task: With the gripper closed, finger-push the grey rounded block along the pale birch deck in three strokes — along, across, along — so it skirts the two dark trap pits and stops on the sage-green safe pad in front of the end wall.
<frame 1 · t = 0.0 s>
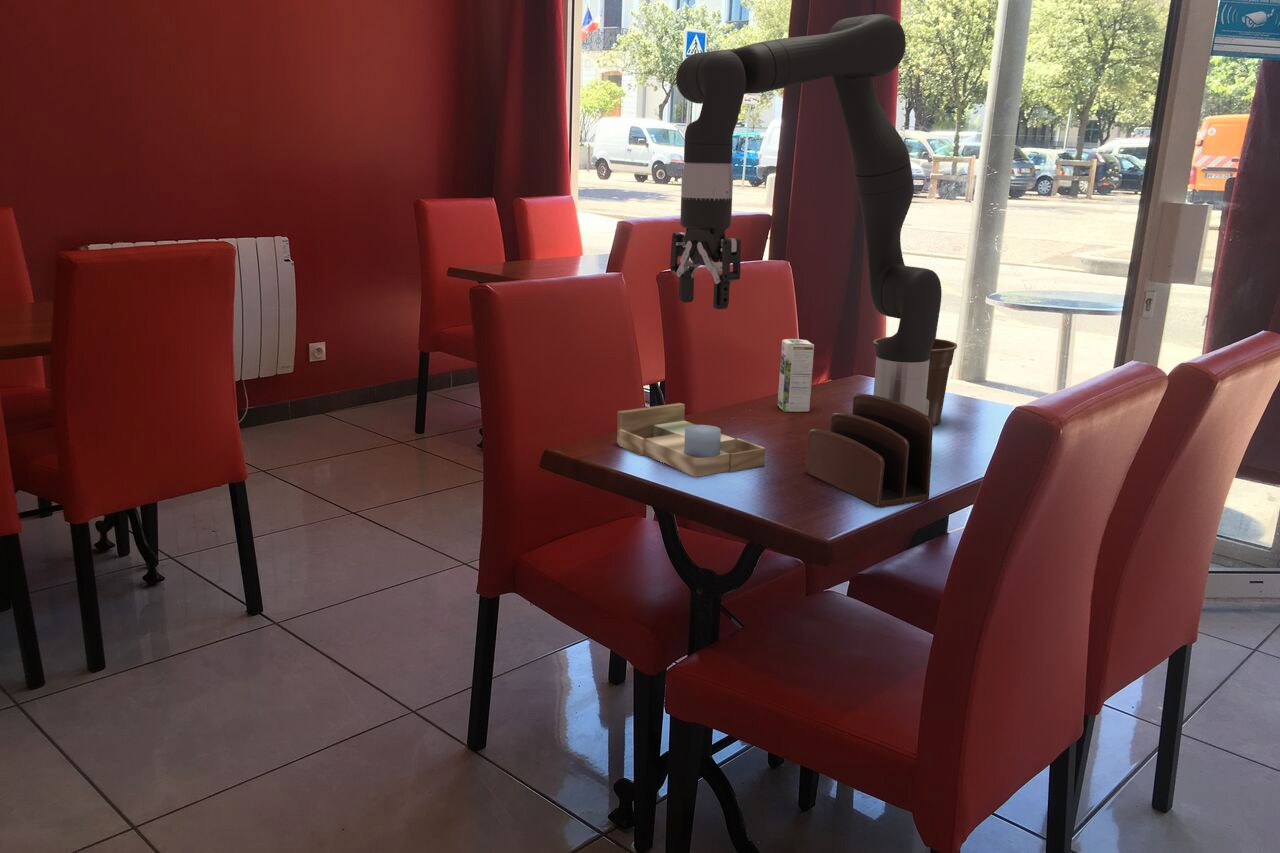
hand: (702, 305, 156), 29 cm above the table, tool pointing down, fingers open, 8 cm apart
grey rounded block: (702, 452, 174), point 3 cm above the table, touching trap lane
syrup box: (793, 410, 218), on the table
letter holder: (864, 488, 168), on the table
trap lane: (691, 455, 182), on the table
plant pot: (908, 421, 211), on the table
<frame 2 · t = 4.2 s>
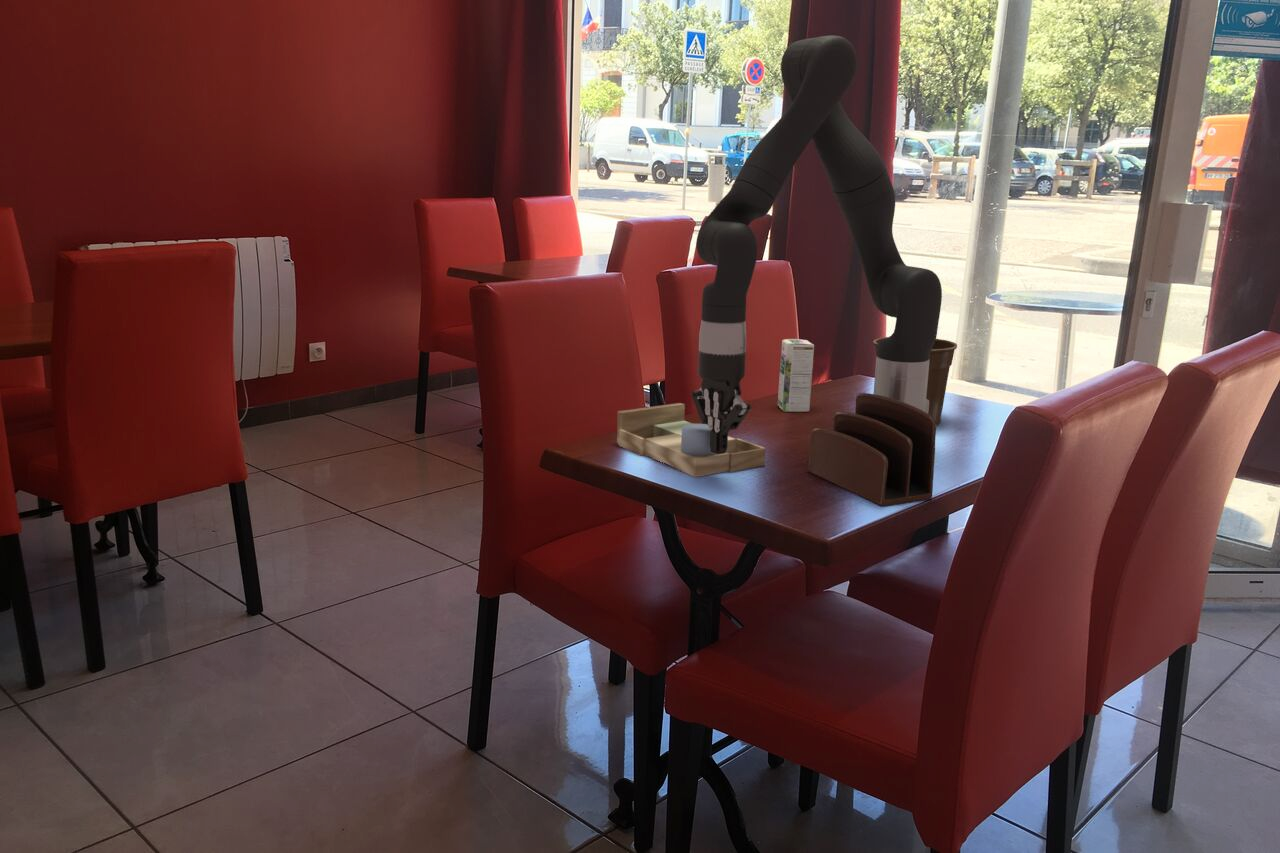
hand: (718, 452, 170), 4 cm above the table, tool pointing down, fingers closed
grey rounded block: (698, 451, 174), point 3 cm above the table
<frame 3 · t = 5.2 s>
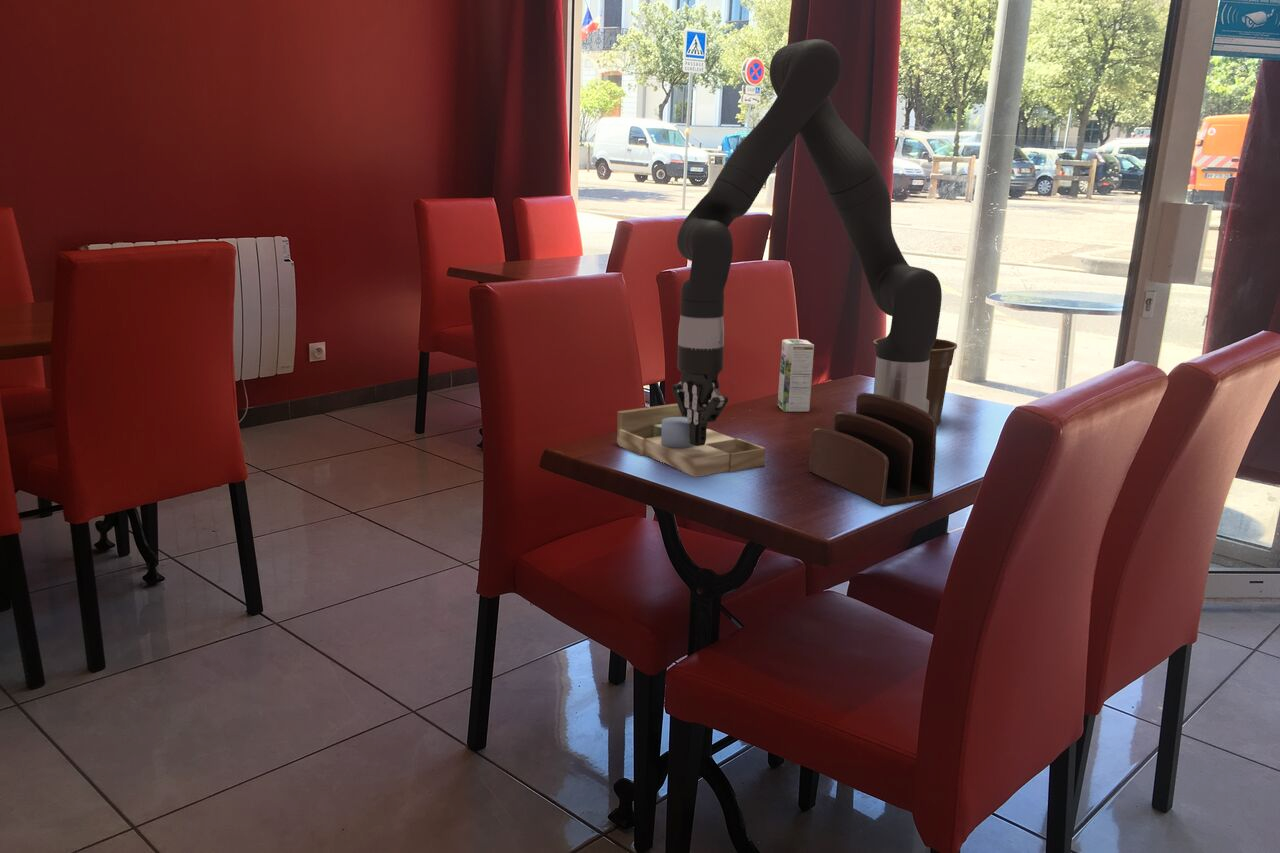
hand: (697, 444, 174), 4 cm above the table, tool pointing down, fingers closed
grey rounded block: (678, 443, 179), point 3 cm above the table, touching gripper
everything else where it was.
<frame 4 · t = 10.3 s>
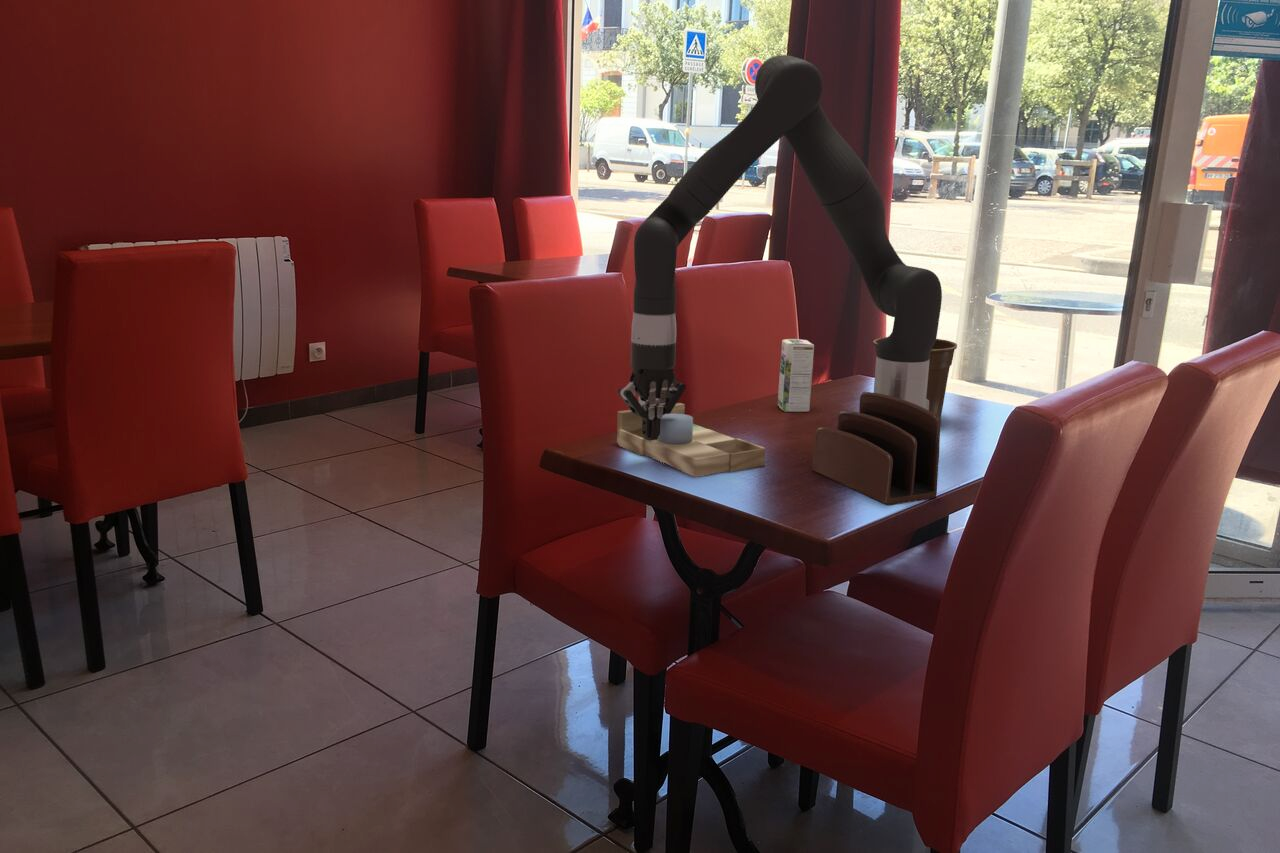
hand: (651, 439, 178), 4 cm above the table, tool pointing down, fingers closed
grey rounded block: (675, 439, 181), point 3 cm above the table, touching gripper
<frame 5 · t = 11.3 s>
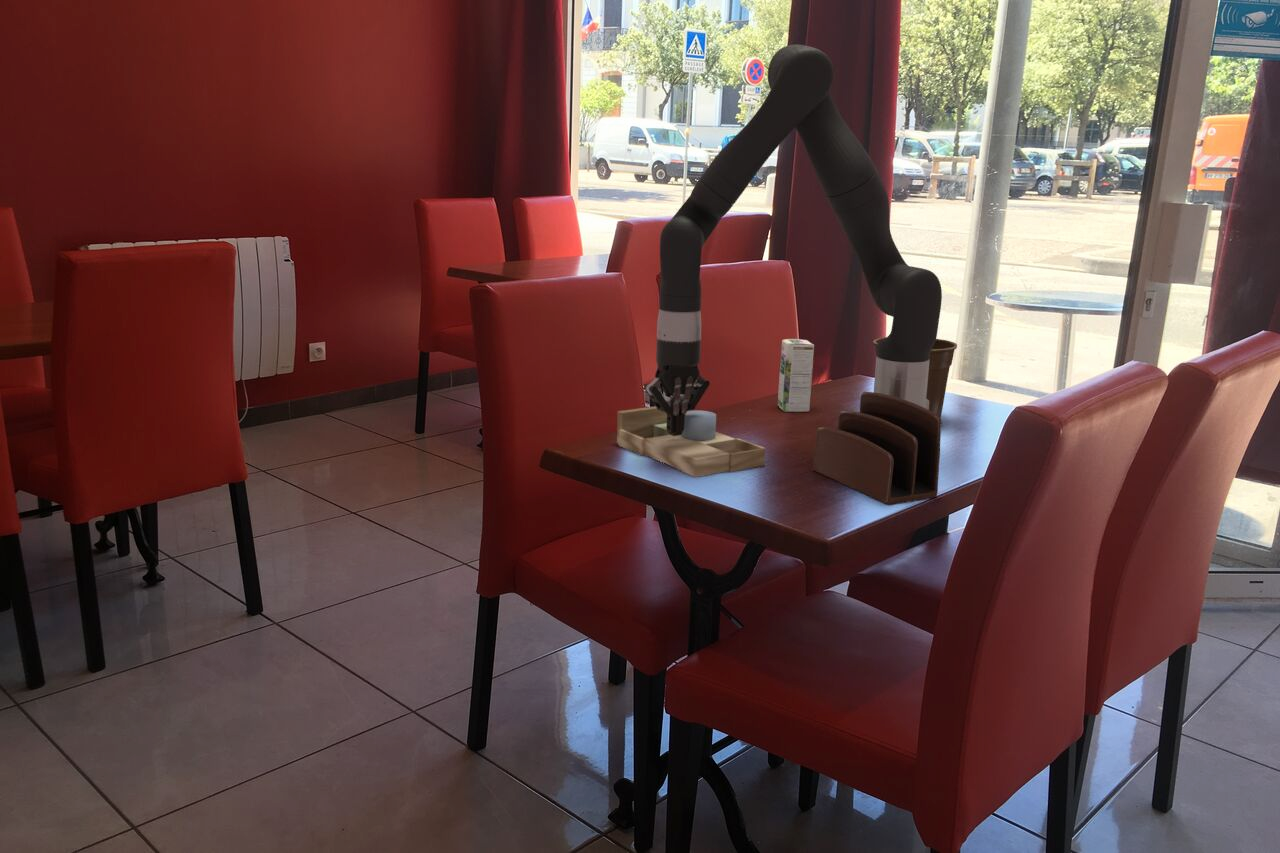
hand: (675, 434, 180), 4 cm above the table, tool pointing down, fingers closed
grey rounded block: (698, 436, 184), point 3 cm above the table, touching gripper, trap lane
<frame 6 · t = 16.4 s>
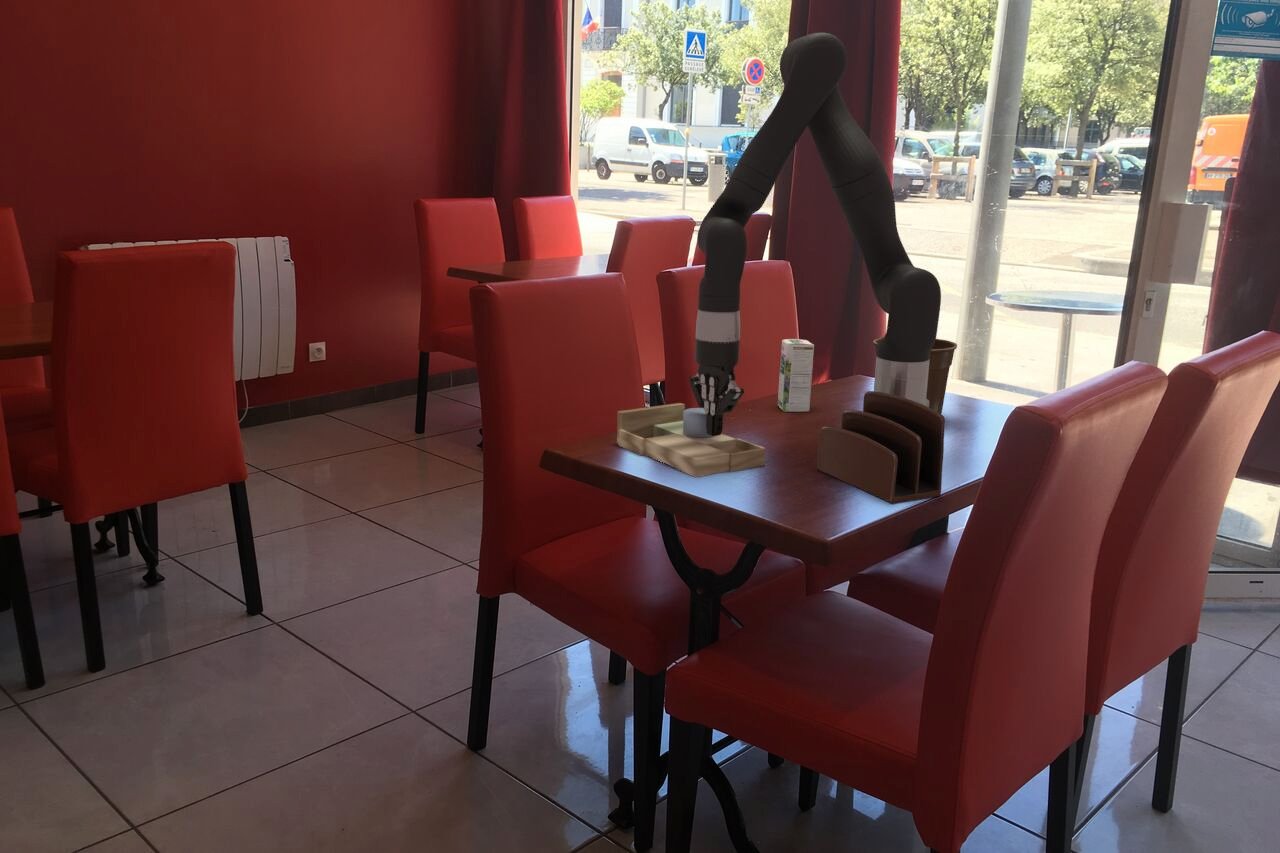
hand: (713, 434, 181), 4 cm above the table, tool pointing down, fingers closed
grey rounded block: (699, 433, 186), point 3 cm above the table, touching gripper
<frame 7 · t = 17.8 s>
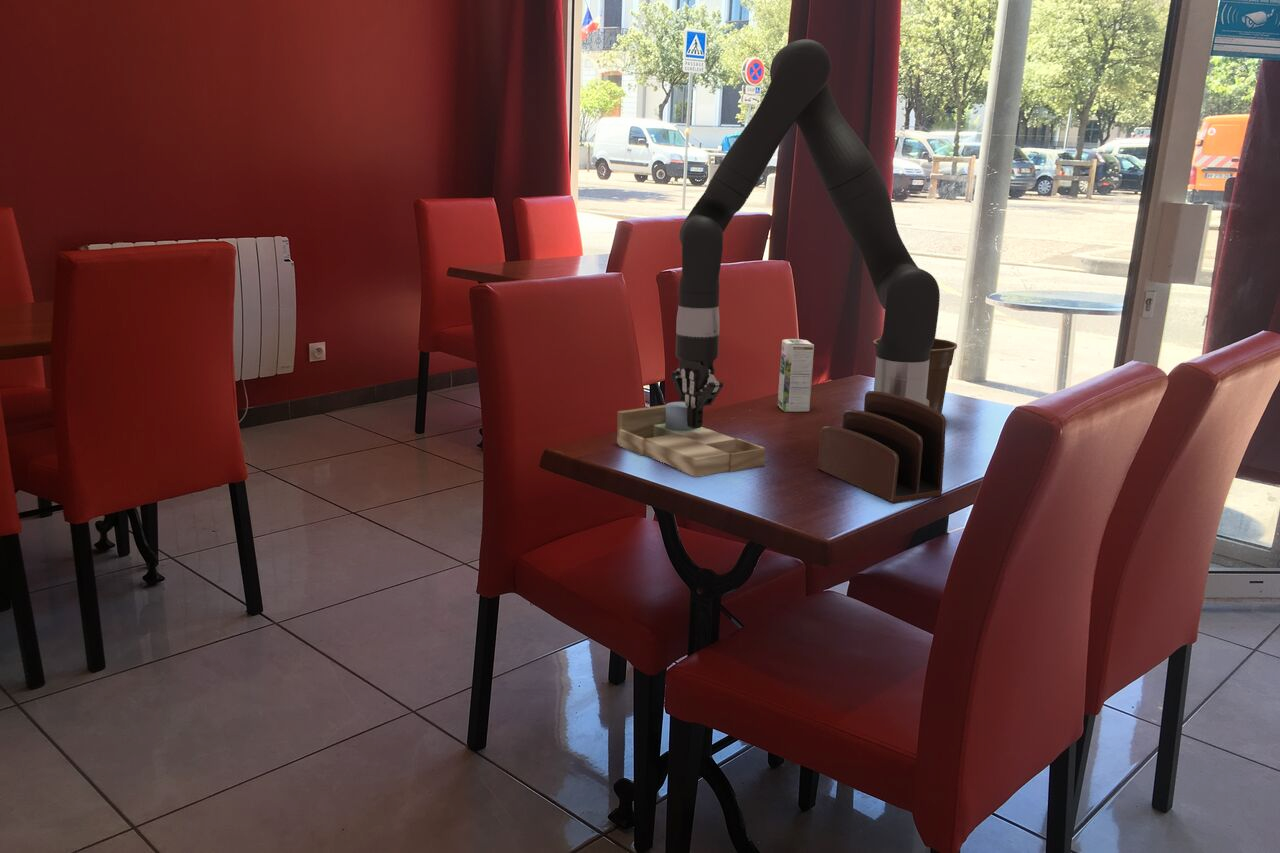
hand: (694, 427, 186), 4 cm above the table, tool pointing down, fingers closed
grey rounded block: (681, 426, 191), point 3 cm above the table, touching gripper, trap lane
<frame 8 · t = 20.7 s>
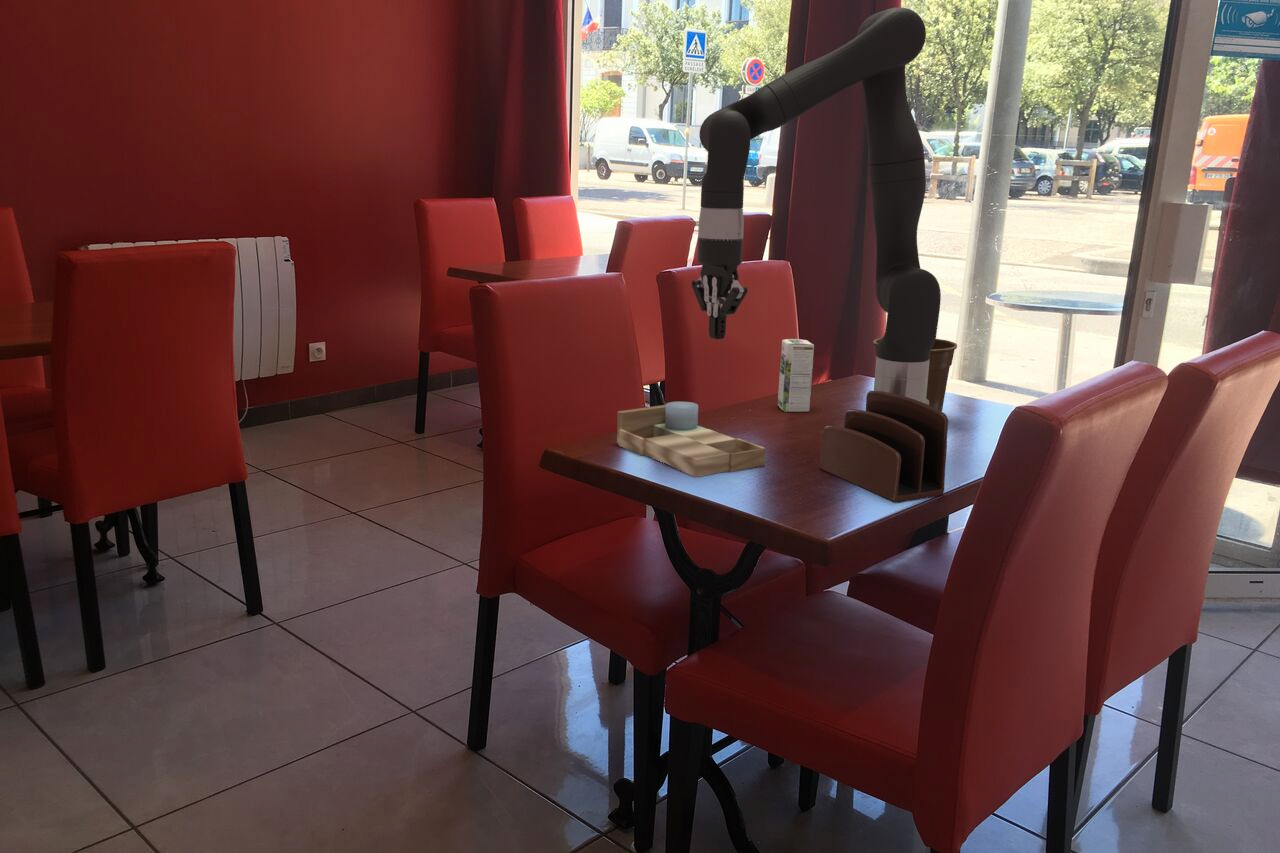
hand: (716, 338, 177), 21 cm above the table, tool pointing down, fingers closed
grey rounded block: (681, 426, 191), point 3 cm above the table, touching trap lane
at the end: grey rounded block inside the target area on the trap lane (1.0 cm from its centre), point 2.9 cm above the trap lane's base; grey rounded block tilted 0°; grey rounded block moved 17.9 cm from its start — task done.
